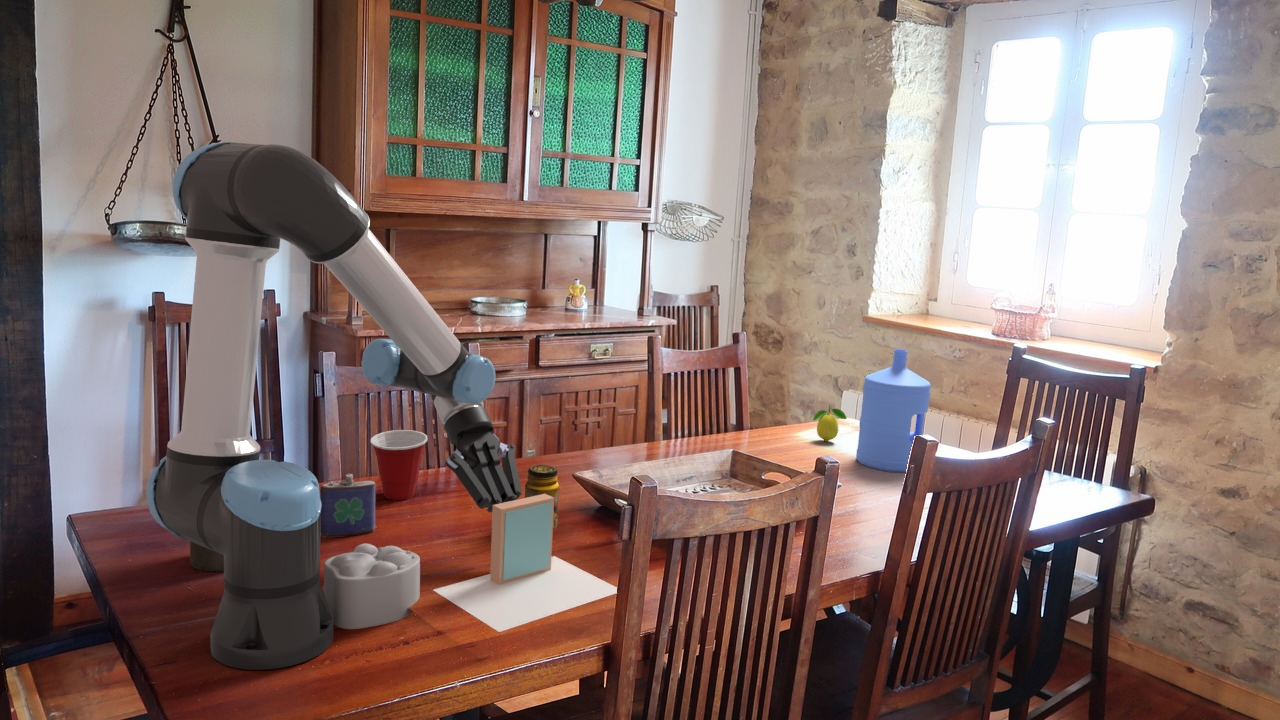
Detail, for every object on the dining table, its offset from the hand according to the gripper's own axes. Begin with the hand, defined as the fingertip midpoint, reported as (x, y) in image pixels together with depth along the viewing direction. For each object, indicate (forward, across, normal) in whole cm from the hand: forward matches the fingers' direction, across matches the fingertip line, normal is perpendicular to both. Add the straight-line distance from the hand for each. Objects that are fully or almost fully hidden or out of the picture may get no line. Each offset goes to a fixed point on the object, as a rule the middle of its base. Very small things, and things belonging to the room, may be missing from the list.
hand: (519, 541), depth 150 cm
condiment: (-5, -14, -14) cm, 20 cm away
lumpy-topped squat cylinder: (+3, +24, -6) cm, 25 cm away
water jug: (+3, -113, -5) cm, 113 cm away
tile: (+5, +1, -1) cm, 5 cm away
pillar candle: (-18, +34, -27) cm, 47 cm away
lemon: (-11, -117, -20) cm, 119 cm away
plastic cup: (-27, -4, -36) cm, 45 cm away
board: (+10, +4, +2) cm, 10 cm away
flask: (-18, +13, -27) cm, 35 cm away
